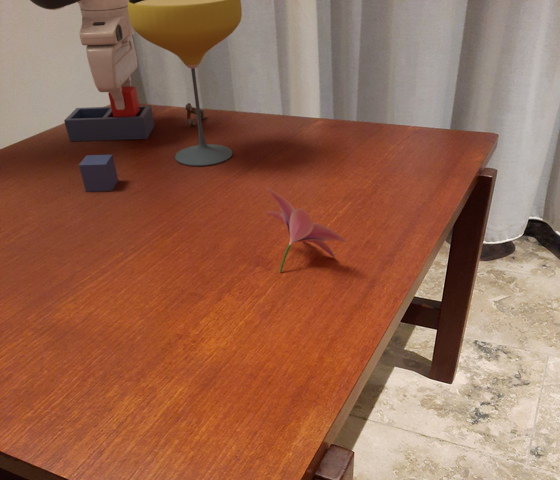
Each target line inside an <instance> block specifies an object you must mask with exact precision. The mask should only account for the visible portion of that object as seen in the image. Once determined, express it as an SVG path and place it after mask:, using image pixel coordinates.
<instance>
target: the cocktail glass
mask: <svg viewBox="0 0 560 480" xmlns="http://www.w3.org/2000/svg"><path fill="white" fill-rule="evenodd" d="M242 12H243V10H242V1H241V0H128V13H129V19H130V22H131V25H132V27H133V30H134V32H136V34H138V35H139V36H140V37H141V38H143V39H144V40H146V41H147V42H148V43H151V44H154V45H155V46H157V47H159V48H161V49H164V50H165V51H168V52H171V54H174V55H175V56H177V57H178V59H180V60H181V62H182V63H183V64H184V65H185V67H187V68H188V69H190V71H191V78H192V87H193V94H194V95H193V96H194V102H195V108H196V112H197V118H196V121H197V128H198V144H197V145H191V146H188V147H185V148H183V149H180V150H179V151H177V152H176V154H174V155H175V156H174V159H175V161H176V162H177V163H178V164H180V165H183V166H189V167H208V166H209V167H210V166H216V165H219V164H223V163H224V162H227V161H228V160H229V159H231V158H232V156H233V150H232V149H231V148H230V147H227V146H225V145H220V144H213V143H210V144H208V143H207V141H206V137H205V133H204V129H203V122H202V118H201V114H200V109H201V108H200V101H199V92H198V84H197V76H196V69H197V68H198V67H199V66H200V64H201V63H202V60H203V58H204V56H205V55H206V54H207V52H209V51H210V50H211V49H213V48H214V47H215V46H217V45H218V44H220V43H221V42H222V41H224V40H226V39H227V38H228V37H229V36H230V35H231V34H233V32H235V30H236V29H237V28H238V26H239V25H240V23H241V21H242V15H243V13H242Z"/></svg>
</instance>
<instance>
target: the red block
mask: <svg viewBox="0 0 560 480" xmlns="http://www.w3.org/2000/svg"><path fill="white" fill-rule="evenodd" d="M107 93H108V99H109V104H110V107H111V108H112V113H113V117H134V116H136V115H137V113H138V112H139V110H140V108H139V106H140V104H139V98H138V92H137V87H136V86H134V85H133V86H131V87H122V95H123V98H125V103H126V107H125V108H124V109H123V110H117V109H116V107H115V103H114V100H113V98H112V96H111V94H110V92H107Z"/></svg>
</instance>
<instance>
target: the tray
mask: <svg viewBox="0 0 560 480" xmlns="http://www.w3.org/2000/svg"><path fill="white" fill-rule="evenodd" d="M139 108H140V110H139V112H138V113H137V115H136V116H134V117H113V113H112V108H111V106H92V107H90V106H89V107H76V108H75V109H74V110H73V111H72V112H71V113H70V114H69V115H68V116H67V117H66V118H65V119H64V120H63V122H64V125H65V129H66V133H67V136H68V140H69V142H89V141H91V142H93V141H95V142H96V141H121V140H122V141H123V140H147V139H148V138H149V137H150V134H151V132H152V131H153V129H154V128H155V120H154V114H153V108H152V105H149V104H147V105H139Z"/></svg>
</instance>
